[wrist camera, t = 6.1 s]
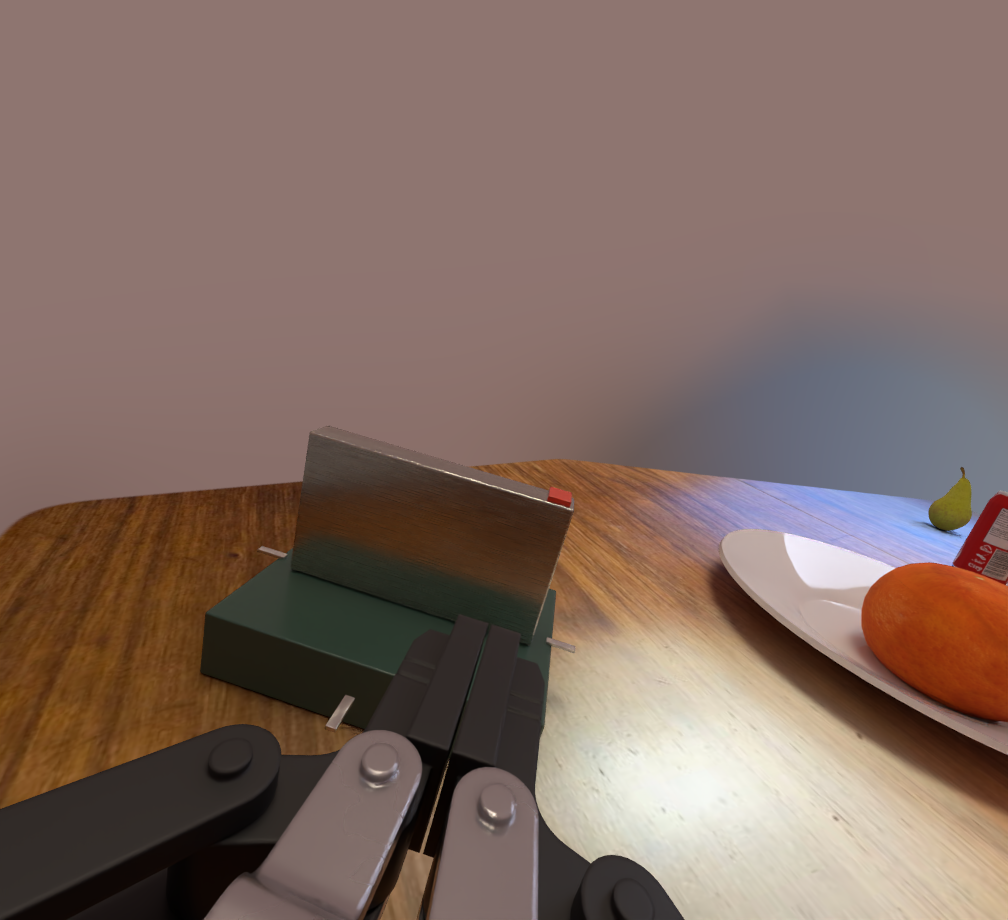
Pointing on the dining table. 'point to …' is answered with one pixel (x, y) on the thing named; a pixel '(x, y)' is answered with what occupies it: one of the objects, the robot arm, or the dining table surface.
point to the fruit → (953, 507)
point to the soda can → (988, 542)
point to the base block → (328, 642)
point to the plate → (889, 624)
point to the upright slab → (428, 531)
